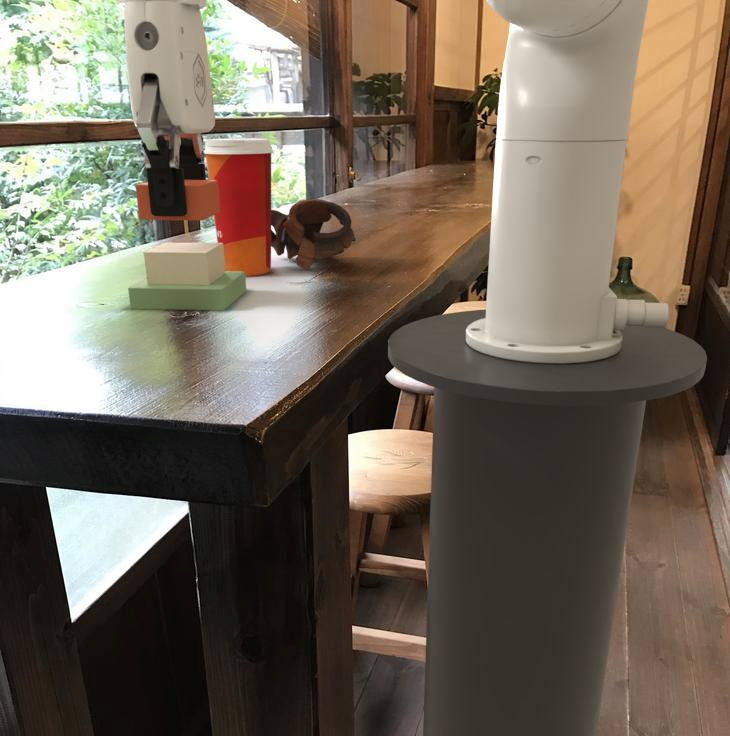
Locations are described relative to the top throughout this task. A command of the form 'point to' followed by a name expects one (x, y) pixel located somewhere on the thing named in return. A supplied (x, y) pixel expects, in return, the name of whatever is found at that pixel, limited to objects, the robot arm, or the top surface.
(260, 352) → the top surface
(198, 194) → the orange rectangular block
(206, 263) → the cream rectangular block
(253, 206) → the paper cup
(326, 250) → the brown coiled band
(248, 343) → the top surface
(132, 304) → the sage green pad
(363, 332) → the top surface
